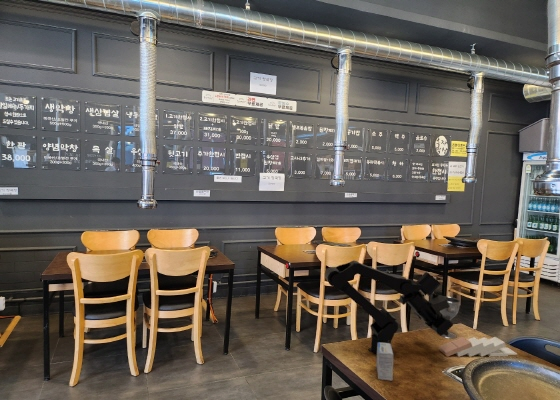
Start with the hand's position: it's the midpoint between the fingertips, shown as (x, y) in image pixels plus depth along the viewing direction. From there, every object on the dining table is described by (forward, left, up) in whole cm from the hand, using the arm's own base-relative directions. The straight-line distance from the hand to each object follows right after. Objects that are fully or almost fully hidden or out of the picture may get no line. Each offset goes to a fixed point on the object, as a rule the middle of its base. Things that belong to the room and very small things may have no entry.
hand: (447, 334), depth 130 cm
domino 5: (+14, -6, -6) cm, 17 cm away
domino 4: (+11, -5, -6) cm, 13 cm away
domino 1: (-1, 0, -6) cm, 6 cm away
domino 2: (+3, -1, -6) cm, 7 cm away
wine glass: (+16, +11, -7) cm, 21 cm away
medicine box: (-32, -2, -7) cm, 33 cm away
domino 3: (+7, -3, -6) cm, 10 cm away
